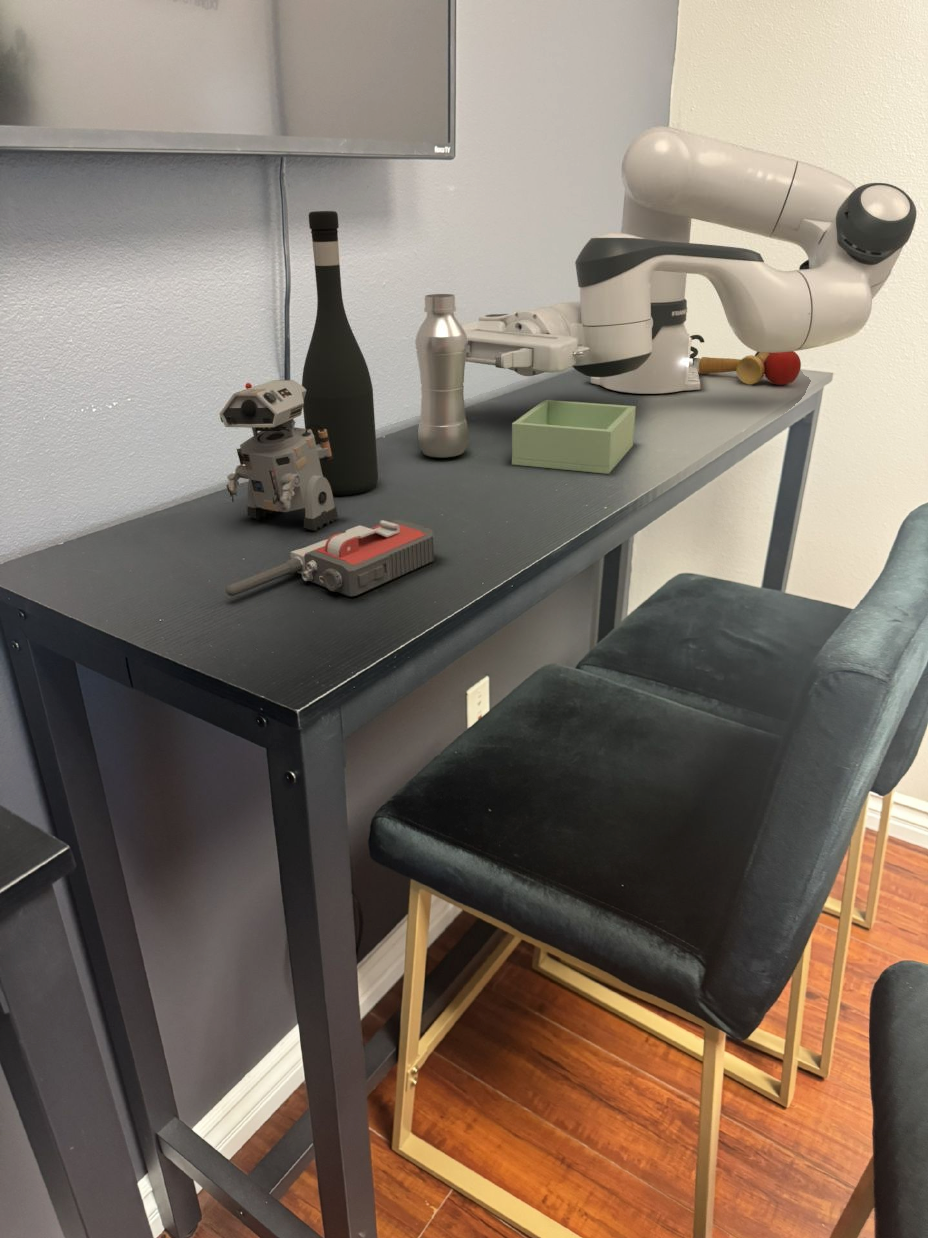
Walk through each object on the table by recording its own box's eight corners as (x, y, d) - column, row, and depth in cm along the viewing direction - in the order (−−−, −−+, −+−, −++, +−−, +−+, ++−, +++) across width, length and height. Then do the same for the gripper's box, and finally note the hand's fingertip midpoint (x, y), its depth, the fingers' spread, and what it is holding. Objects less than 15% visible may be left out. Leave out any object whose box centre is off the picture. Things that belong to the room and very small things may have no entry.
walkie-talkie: (384, 537, 92) (221, 602, 78) (381, 496, 90) (214, 556, 76) (448, 557, 87) (286, 631, 73) (447, 514, 85) (280, 582, 71)
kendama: (689, 385, 160) (787, 384, 148) (691, 348, 158) (790, 344, 146) (711, 386, 165) (806, 385, 153) (713, 350, 164) (810, 346, 152)
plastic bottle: (412, 452, 120) (405, 294, 111) (460, 446, 122) (457, 291, 113) (426, 465, 114) (420, 300, 105) (476, 459, 116) (474, 296, 107)
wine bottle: (331, 474, 111) (308, 209, 98) (389, 480, 109) (373, 209, 96) (298, 494, 105) (269, 212, 91) (360, 501, 102) (338, 212, 89)
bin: (543, 437, 125) (544, 399, 123) (633, 445, 121) (635, 406, 119) (511, 464, 114) (511, 423, 112) (608, 474, 110) (611, 431, 107)
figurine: (211, 537, 93) (188, 391, 86) (282, 504, 102) (266, 369, 95) (280, 552, 89) (262, 400, 82) (347, 516, 98) (336, 376, 91)
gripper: (595, 373, 121) (535, 391, 112) (476, 358, 133) (414, 373, 123) (597, 324, 118) (536, 339, 109) (476, 313, 130) (411, 326, 120)
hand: (470, 357), depth 116 cm, fingers open, 8 cm apart
